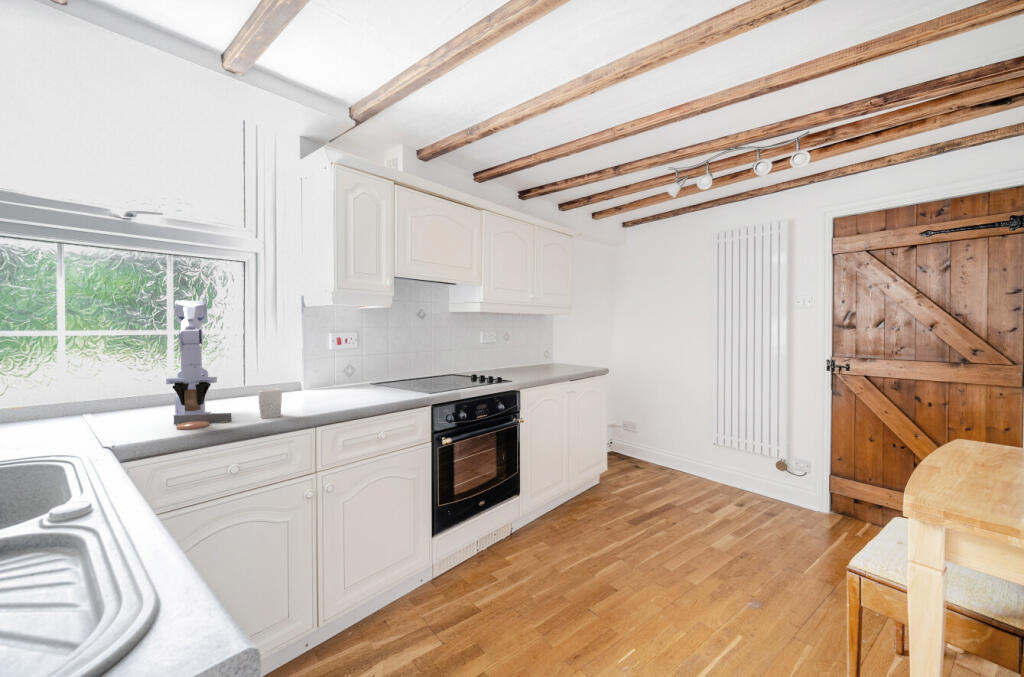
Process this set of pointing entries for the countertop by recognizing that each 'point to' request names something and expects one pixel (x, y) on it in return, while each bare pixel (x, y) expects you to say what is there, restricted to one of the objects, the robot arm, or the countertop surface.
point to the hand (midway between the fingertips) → (192, 404)
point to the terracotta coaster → (192, 425)
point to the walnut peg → (191, 400)
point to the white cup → (270, 402)
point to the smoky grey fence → (203, 418)
